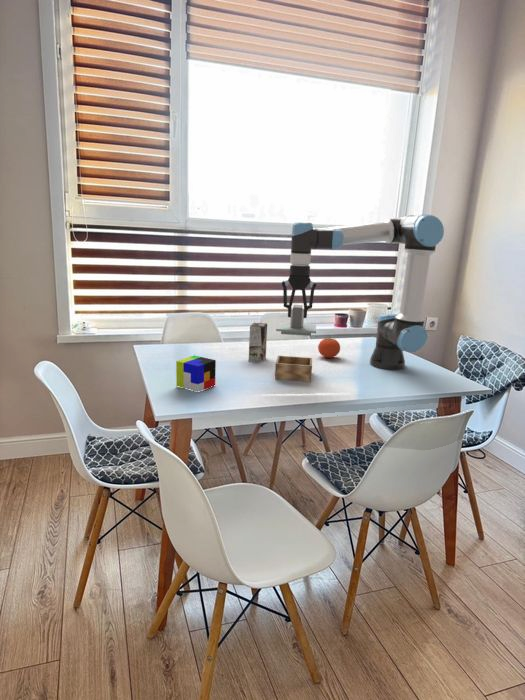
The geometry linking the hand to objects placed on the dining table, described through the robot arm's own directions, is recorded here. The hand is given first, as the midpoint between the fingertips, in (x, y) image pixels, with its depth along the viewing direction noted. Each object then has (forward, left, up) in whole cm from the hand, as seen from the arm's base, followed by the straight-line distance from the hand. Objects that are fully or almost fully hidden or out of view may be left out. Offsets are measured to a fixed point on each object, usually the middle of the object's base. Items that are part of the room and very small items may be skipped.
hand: (296, 325), depth 182 cm
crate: (0, 0, -21) cm, 21 cm away
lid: (0, 0, -3) cm, 3 cm away
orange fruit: (-15, -34, -21) cm, 43 cm away
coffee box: (+17, -22, -21) cm, 35 cm away
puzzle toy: (+35, +19, -21) cm, 45 cm away
